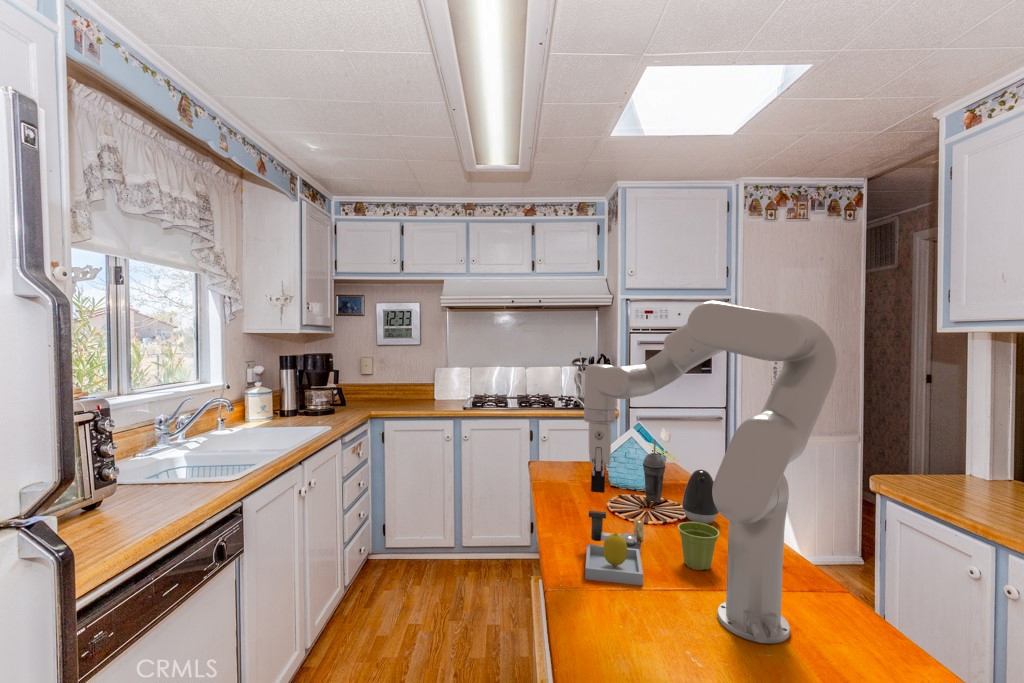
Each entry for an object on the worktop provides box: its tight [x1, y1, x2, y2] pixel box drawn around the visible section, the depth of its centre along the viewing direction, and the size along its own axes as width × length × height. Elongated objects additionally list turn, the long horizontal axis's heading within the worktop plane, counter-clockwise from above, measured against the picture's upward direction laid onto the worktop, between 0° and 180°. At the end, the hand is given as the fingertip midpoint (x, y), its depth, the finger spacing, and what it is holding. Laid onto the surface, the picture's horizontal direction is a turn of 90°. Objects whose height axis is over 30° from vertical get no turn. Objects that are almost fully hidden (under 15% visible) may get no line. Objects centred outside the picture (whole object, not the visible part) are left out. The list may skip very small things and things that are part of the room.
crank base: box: [627, 518, 644, 554], centre depth 128 cm, size 12×7×5 cm, turn 170°
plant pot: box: [677, 521, 720, 571], centre depth 119 cm, size 9×9×9 cm
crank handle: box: [588, 510, 637, 545], centre depth 126 cm, size 12×4×7 cm, turn 80°
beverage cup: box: [642, 439, 666, 503], centre depth 163 cm, size 7×7×20 cm
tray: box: [584, 543, 644, 586], centre depth 116 cm, size 13×13×2 cm
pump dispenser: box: [682, 469, 720, 525], centre depth 146 cm, size 10×10×15 cm
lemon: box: [602, 532, 627, 567], centre depth 116 cm, size 6×6×8 cm
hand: (597, 489), depth 120 cm, fingers closed
